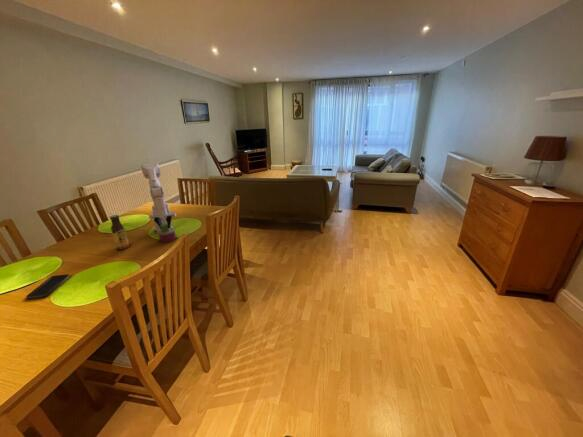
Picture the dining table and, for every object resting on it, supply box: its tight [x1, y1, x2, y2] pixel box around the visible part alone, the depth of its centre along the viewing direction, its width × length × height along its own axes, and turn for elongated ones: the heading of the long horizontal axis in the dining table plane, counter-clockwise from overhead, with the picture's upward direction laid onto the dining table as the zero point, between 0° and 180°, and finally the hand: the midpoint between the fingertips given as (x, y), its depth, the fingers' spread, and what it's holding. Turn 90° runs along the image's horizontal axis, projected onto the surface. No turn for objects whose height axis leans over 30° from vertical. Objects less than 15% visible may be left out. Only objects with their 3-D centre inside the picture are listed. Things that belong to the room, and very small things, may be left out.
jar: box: [157, 226, 177, 243], centre depth 148 cm, size 10×10×6 cm
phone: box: [25, 274, 70, 300], centre depth 107 cm, size 8×1×15 cm
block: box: [160, 223, 170, 232], centre depth 146 cm, size 4×4×4 cm
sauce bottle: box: [109, 214, 130, 250], centre depth 136 cm, size 7×6×20 cm
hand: (165, 228), depth 146 cm, fingers closed on block, 4 cm apart
